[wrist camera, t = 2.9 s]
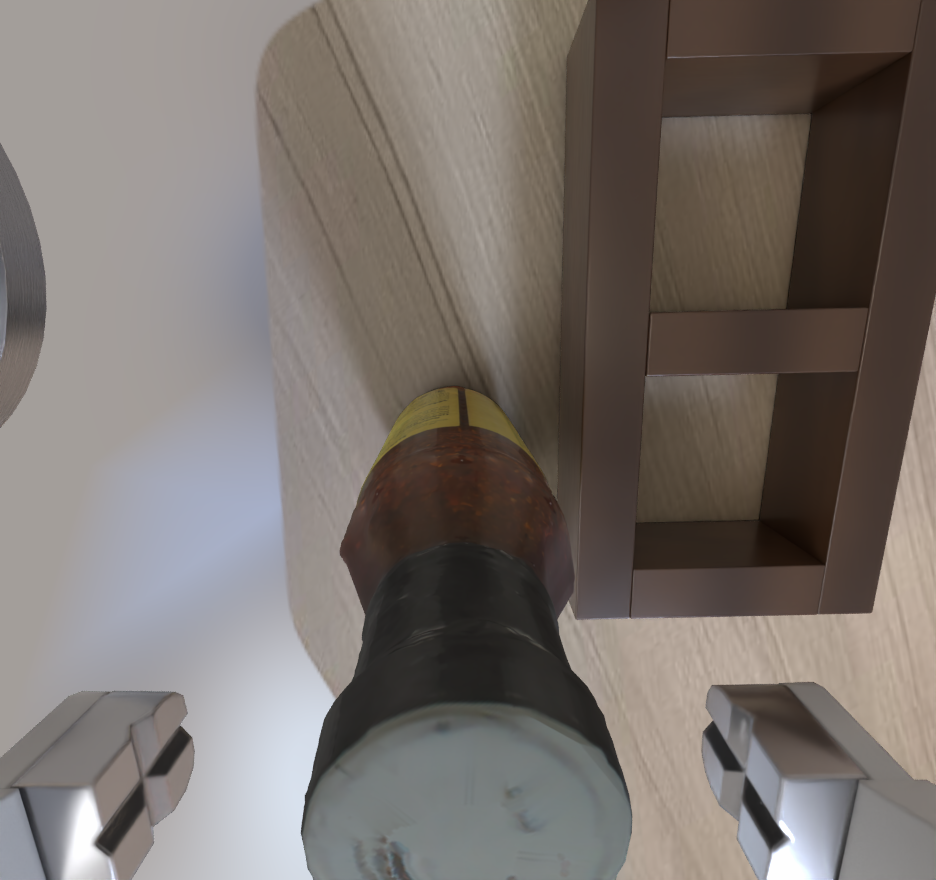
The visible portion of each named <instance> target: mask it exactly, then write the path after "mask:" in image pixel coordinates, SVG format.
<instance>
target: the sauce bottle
mask: <svg viewBox="0 0 936 880" xmlns="http://www.w3.org/2000/svg"><path fill="white" fill-rule="evenodd" d="M340 556H341V557H342V558H343V561H344V562H345V563H346V564H347V567H348V569H349V572H350V575H351V577H352V580H353V583H354V585H355V588H356V591H357V594H358V596H359V599H360V602H361V605H362V607H363V610H364V613H365V622H364V626H363V632H362V641H363V644H362V648H361V651H360V654H359V659H358V663H357V666H356V669H355V674H354V677H353V680H352V682H351V683H350V684H349V685H348V686H347V687H346V688H345V689H344V691H343V692H342V693H341V694H340V695H339V697H338V698H337V699H336V700H335V701H334V703H333V705H332V706H331V708H330V710H329V712H328V713H327V715H326V717H325V719H324V722H323V726H322V730H321V734H320V738H319V744H318V748H317V752H316V756H315V760H314V765H313V771H312V777H311V780H310V783H309V786H308V790H307V793H306V795H305V805H304V812H303V820H302V827H301V835H302V840H303V845H304V850H305V855H306V861H307V867H308V870H309V871H310V873H311V875H312V876H313V880H616V877H617V874H618V872H619V871H620V869H621V867H622V866H623V864H624V863H625V861H626V856H627V851H628V846H629V842H630V838H631V833H632V810H631V804H630V798H629V793H628V789H627V786H626V783H625V779H624V776H623V772H622V769H621V766H620V764H619V761H618V758H617V755H616V751H615V748H614V744H613V741H612V738H611V736H610V733H609V731H608V729H607V726H606V722H605V718H604V715H603V713H602V712H601V710H600V709H599V707H598V705H597V703H596V700H595V698H594V696H593V695H592V693H591V692H590V690H589V689H588V687H587V686H586V685H585V683H584V682H583V681H582V680H581V679H580V678H579V677H578V676H577V675H576V674H575V673H574V672H573V671H572V670H571V668H570V665H569V663H568V660H567V657H566V654H565V651H564V648H563V645H562V642H561V639H560V636H559V627H558V621H557V619H558V617H559V615H560V614H561V612H562V610H563V609H564V607H565V605H566V604H567V602H568V599H569V598H570V597H571V595H572V594H573V592H574V580H575V574H574V566H573V559H572V552H571V545H570V536H569V532H568V529H567V523H566V521H565V518H564V515H563V513H562V511H561V509H560V507H559V504H558V503H557V501H556V499H555V497H554V496H553V495H552V492H551V490H550V488H549V485H548V482H547V480H546V478H545V476H544V474H543V472H542V471H541V469H540V467H539V466H538V464H537V463H536V461H535V459H534V458H533V456H532V454H531V453H530V451H529V450H528V448H527V447H526V445H525V444H524V442H523V441H522V439H521V438H520V436H519V434H518V433H517V431H516V429H515V428H514V426H513V425H512V423H511V421H510V420H509V418H508V417H507V416H506V414H505V413H504V411H503V410H502V409H501V408H500V407H499V406H498V405H497V404H496V403H495V402H493V401H492V400H491V399H489V398H488V397H486V396H484V395H482V394H481V393H478V392H476V391H473V390H470V389H465V388H463V387H460V386H451V387H443V388H440V389H437V390H433V391H431V392H428V393H426V394H423V395H421V396H419V397H417V398H416V399H415V400H413V401H412V402H411V403H410V404H409V405H408V406H407V407H406V408H405V409H404V411H403V412H402V413H401V414H400V416H399V417H398V419H397V420H396V422H395V424H394V426H393V428H392V430H391V432H390V434H389V436H388V438H387V439H386V441H385V443H384V445H383V447H382V449H381V451H380V453H379V455H378V457H377V459H376V461H375V463H374V464H373V466H372V468H371V470H370V472H369V474H368V476H367V477H366V479H365V481H364V484H363V486H362V488H361V491H360V494H359V497H358V500H357V505H356V508H355V510H354V511H353V513H352V517H351V520H350V523H349V525H348V527H347V531H346V534H345V536H344V539H343V541H342V543H341V547H340Z"/></svg>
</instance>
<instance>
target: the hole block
mask: <svg viewBox="0 0 936 880" xmlns="http://www.w3.org/2000/svg"><path fill="white" fill-rule="evenodd" d="M802 113H812V121H811V128H810V136H809V144H808V151H807V159H806V167H805V175H804V182H803V190H802V198H801V205H800V213H799V221H798V228H797V236H796V244H795V252H794V259H793V267H792V275H791V282H790V290H789V298H788V305H787V309H768V310H727V311H686V312H649V309H650V294H651V278H652V263H653V247H654V231H655V216H656V200H657V185H658V169H659V153H660V138H661V122H662V117H687V116H725V115H764V114H802ZM935 295H936V0H588V2H587V5H586V7H585V10H584V13H583V16H582V18H581V21H580V24H579V26H578V29H577V32H576V34H575V37H574V40H573V42H572V45H571V48H570V50H569V53H568V56H567V86H566V131H565V176H564V222H563V267H562V313H561V358H560V403H559V449H558V494H557V503H558V504H559V507H560V509H561V511H562V513H563V515H564V518H565V521H566V523H567V529H568V532H569V536H570V545H571V552H572V559H573V566H574V574H575V580H574V592H573V594H572V595H571V597H570V598H569V599H568V600H569V603H570V605H571V608H572V611H573V613H574V616H575V619H577V620H583V619H628V618H631V619H640V618H686V617H732V616H778V615H816V614H860V613H872V611H873V606H874V601H875V595H876V590H877V585H878V580H879V575H880V570H881V565H882V560H883V555H884V550H885V545H886V540H887V535H888V530H889V525H890V520H891V515H892V510H893V505H894V500H895V495H896V490H897V485H898V480H899V475H900V470H901V465H902V460H903V455H904V450H905V445H906V440H907V435H908V430H909V425H910V420H911V415H912V410H913V405H914V400H915V395H916V390H917V385H918V380H919V375H920V370H921V365H922V360H923V355H924V350H925V345H926V340H927V335H928V330H929V325H930V320H931V315H932V310H933V305H934V300H935ZM737 374H779V375H778V382H777V390H776V398H775V406H774V413H773V421H772V429H771V436H770V444H769V452H768V459H767V467H766V475H765V483H764V490H763V498H762V506H761V513H760V521H715V522H671V523H636V512H637V497H638V481H639V465H640V450H641V434H642V419H643V403H644V387H645V376H647V377H653V376H695V375H737Z"/></svg>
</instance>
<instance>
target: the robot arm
mask: <svg viewBox="0 0 936 880" xmlns="http://www.w3.org/2000/svg"><path fill="white" fill-rule="evenodd" d="M706 709H707V710H708V712H709V714H710V715H711V717H712V719H713V721H712V722H711V723H710V725H709V726H708V727H707V728H706V729H705V730H704V731H703V736H702V756H703V762H704V768H705V773H706V776H707V779H708V781H709V784H710V787H711V789H712V791H713V793H714V795H715V797H716V799H717V801H718V803H719V805H720V807H722V808H723V809H724V810H725V811H727V812H728V813H729V814H730V815H731V816H733V817H734V818H735V819H736V820H737V821H739V824H738V832H737V840H738V842H739V844H740V846H741V848H742V850H743V852H744V854H745V856H746V858H747V860H748V862H749V863H750V865H751V867H752V869H753V871H754V873H755V875H756V877H757V879H758V880H936V785H935V784H933V783H931V782H930V781H928V780H914V779H913V778H912V777H911V776H910V775H909V774H908V773H907V772H906V771H905V770H904V769H903V768H902V767H901V766H900V765H899V764H898V763H897V762H896V761H895V760H894V759H893V758H892V757H891V756H890V755H889V754H888V753H887V752H886V750H885V749H884V748H883V747H882V746H881V745H880V744H879V743H878V742H877V741H876V740H875V739H874V738H873V737H872V736H871V735H870V734H869V733H868V732H867V731H866V730H865V729H864V728H863V727H862V726H861V725H860V724H859V723H858V722H857V721H856V720H855V719H854V718H853V717H852V716H851V715H850V714H849V713H848V712H847V711H846V710H845V709H844V708H843V707H842V706H841V705H840V704H839V703H838V701H837V700H836V699H835V698H834V697H833V696H832V695H831V694H830V693H829V692H828V691H827V690H826V689H825V688H823V687H822V686H820V685H818V684H816V683H814V682H798V683H779V684H744V685H712V686H711V687H710V689H709V691H708V693H707V700H706ZM186 715H187V709H186V705H185V700H184V697H183V695H181V694H179V693H176V692H152V691H151V692H150V691H149V692H148V691H112V692H97V691H81V692H79V693H76V694H73V695H71V696H68V697H67V698H66V699H65V700H64V701H63V702H62V703H61V704H60V705H58V706H57V707H56V708H55V709H54V710H53V711H52V712H51V713H50V714H48V715H47V716H46V717H45V718H44V719H43V720H42V721H41V722H40V723H39V724H37V725H36V726H35V727H34V728H33V729H32V730H31V731H30V732H29V733H27V734H26V735H25V736H24V737H23V738H22V739H21V740H20V741H19V742H18V743H16V744H15V745H14V746H13V747H12V748H11V749H10V750H9V751H8V752H7V753H5V754H4V755H3V756H2V757H1V758H0V880H131V879H132V878H133V876H134V875H135V873H136V871H137V870H138V868H139V867H140V865H141V863H142V862H143V860H144V858H145V857H146V855H147V854H148V852H149V850H150V849H151V847H152V846H153V844H154V831H153V827H154V826H155V825H156V824H158V823H159V822H160V821H161V820H163V819H164V818H165V817H167V816H168V815H169V814H170V813H172V812H173V811H174V810H175V808H176V806H177V805H178V803H179V801H180V800H181V798H182V796H183V795H184V793H185V791H186V789H187V786H188V783H189V780H190V777H191V774H192V771H193V766H194V752H195V751H194V745H193V739H192V737H191V736H190V735H189V734H188V733H187V732H186V731H185V730H184V729H183V728H182V727H181V726H180V725H181V723H182V721H183V720H184V718H185V717H186Z"/></svg>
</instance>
